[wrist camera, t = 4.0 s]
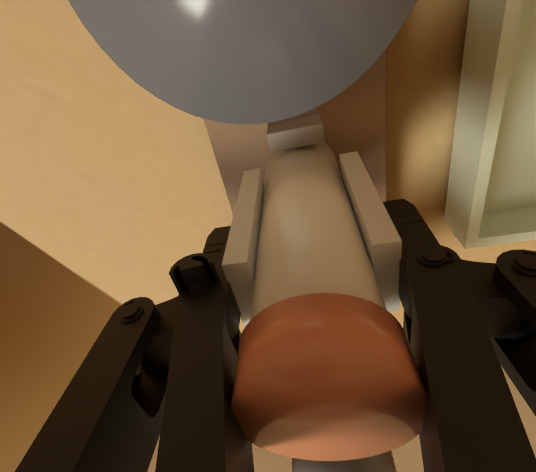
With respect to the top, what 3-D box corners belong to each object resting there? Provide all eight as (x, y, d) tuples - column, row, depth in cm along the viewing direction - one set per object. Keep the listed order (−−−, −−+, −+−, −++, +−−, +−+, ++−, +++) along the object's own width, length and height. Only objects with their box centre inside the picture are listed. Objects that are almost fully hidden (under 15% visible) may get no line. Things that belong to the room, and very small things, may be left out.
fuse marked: (255, 139, 16) (204, 371, 6) (336, 123, 16) (440, 351, 5) (271, 208, 18) (254, 464, 8) (343, 196, 18) (424, 457, 7)
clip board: (151, -88, 13) (100, -125, 10) (375, -158, 12) (415, -232, 8) (265, 302, 26) (262, 350, 22) (381, 288, 25) (398, 338, 21)
